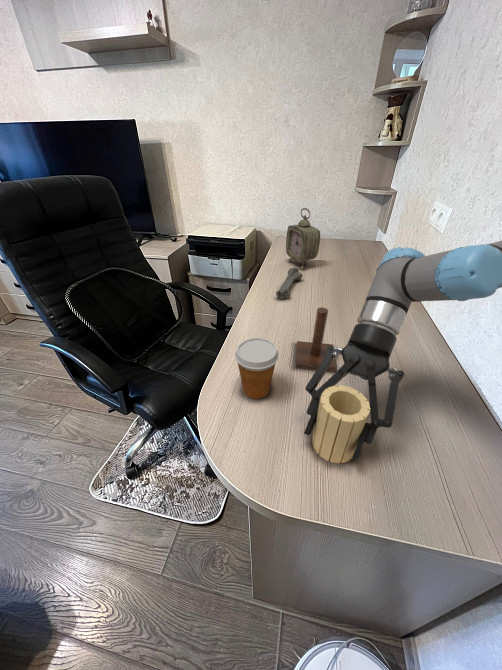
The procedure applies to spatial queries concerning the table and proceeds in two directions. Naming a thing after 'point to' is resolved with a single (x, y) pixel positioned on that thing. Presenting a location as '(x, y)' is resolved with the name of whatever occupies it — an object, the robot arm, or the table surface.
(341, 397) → the wooden stave sleeve
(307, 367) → the spindle stand
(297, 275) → the bone
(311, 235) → the tabletop clock
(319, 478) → the table surface
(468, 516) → the table surface
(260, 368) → the disposable coffee cup
